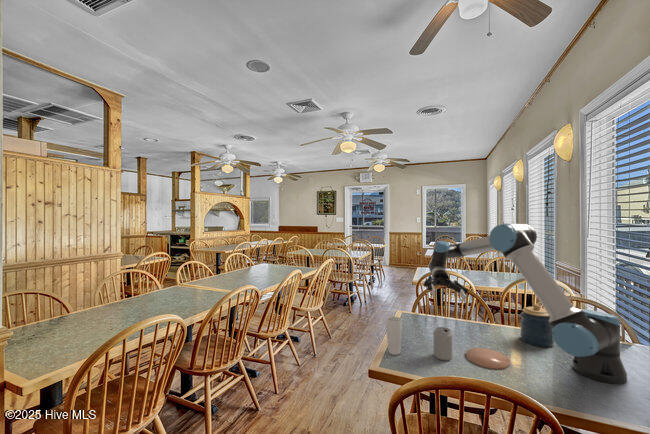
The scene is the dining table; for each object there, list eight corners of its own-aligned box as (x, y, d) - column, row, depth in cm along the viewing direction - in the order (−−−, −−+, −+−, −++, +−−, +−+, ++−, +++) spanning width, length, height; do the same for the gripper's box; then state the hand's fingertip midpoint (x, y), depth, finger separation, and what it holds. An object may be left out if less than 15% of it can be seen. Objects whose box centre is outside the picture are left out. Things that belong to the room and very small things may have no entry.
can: (455, 361, 121) (455, 332, 121) (437, 361, 121) (437, 332, 121) (448, 353, 128) (448, 325, 128) (431, 353, 128) (430, 325, 128)
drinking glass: (389, 347, 134) (389, 315, 134) (404, 351, 130) (403, 317, 130) (384, 354, 128) (384, 319, 128) (399, 357, 124) (399, 322, 124)
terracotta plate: (519, 364, 118) (519, 362, 118) (489, 372, 112) (489, 369, 112) (485, 347, 133) (485, 345, 133) (457, 353, 127) (457, 351, 127)
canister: (561, 348, 131) (560, 309, 131) (530, 347, 133) (529, 308, 133) (542, 336, 144) (542, 300, 144) (514, 335, 146) (514, 300, 146)
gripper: (463, 286, 153) (475, 308, 133) (414, 278, 157) (419, 297, 137) (466, 273, 151) (479, 293, 131) (417, 265, 155) (422, 283, 135)
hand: (449, 295), depth 134 cm, fingers open, 13 cm apart
